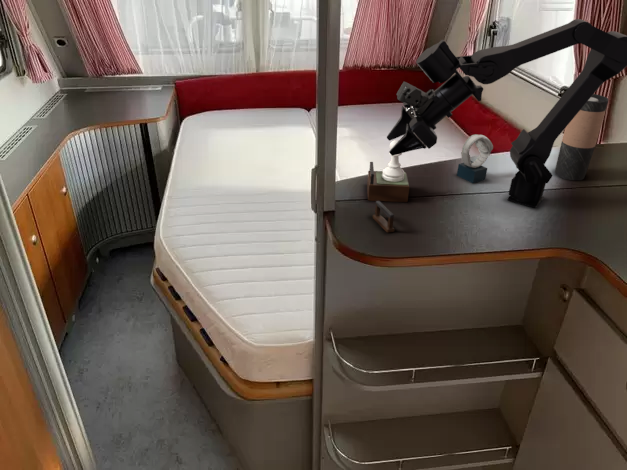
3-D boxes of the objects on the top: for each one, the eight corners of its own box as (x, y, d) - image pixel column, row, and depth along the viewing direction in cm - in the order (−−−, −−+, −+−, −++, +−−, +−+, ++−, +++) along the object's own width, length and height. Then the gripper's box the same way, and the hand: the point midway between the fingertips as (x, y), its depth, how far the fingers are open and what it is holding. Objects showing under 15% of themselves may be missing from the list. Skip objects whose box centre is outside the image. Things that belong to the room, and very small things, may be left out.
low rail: (372, 217, 114) (374, 201, 112) (379, 216, 114) (380, 200, 112) (387, 232, 108) (388, 215, 106) (394, 231, 109) (396, 214, 107)
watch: (490, 178, 133) (499, 136, 127) (467, 184, 129) (475, 142, 124) (474, 170, 137) (481, 129, 131) (451, 176, 133) (458, 134, 128)
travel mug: (588, 182, 132) (613, 103, 122) (556, 179, 133) (578, 100, 123) (581, 170, 138) (604, 94, 128) (551, 167, 140) (571, 91, 129)
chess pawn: (408, 179, 121) (412, 142, 116) (390, 183, 119) (394, 145, 114) (395, 171, 125) (399, 135, 120) (377, 175, 123) (380, 138, 118)
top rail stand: (404, 187, 127) (407, 162, 124) (407, 202, 120) (410, 176, 117) (367, 185, 128) (368, 160, 124) (367, 200, 121) (369, 174, 117)
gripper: (417, 60, 117) (364, 107, 123) (428, 81, 101) (366, 134, 107) (448, 97, 121) (394, 141, 127) (463, 123, 105) (401, 172, 111)
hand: (389, 146), depth 118 cm, fingers open, 9 cm apart
